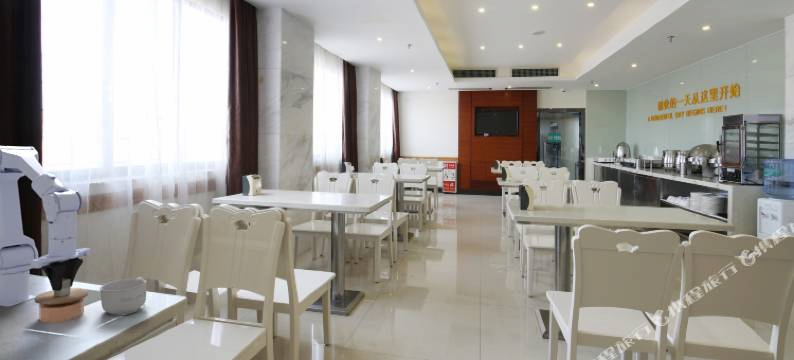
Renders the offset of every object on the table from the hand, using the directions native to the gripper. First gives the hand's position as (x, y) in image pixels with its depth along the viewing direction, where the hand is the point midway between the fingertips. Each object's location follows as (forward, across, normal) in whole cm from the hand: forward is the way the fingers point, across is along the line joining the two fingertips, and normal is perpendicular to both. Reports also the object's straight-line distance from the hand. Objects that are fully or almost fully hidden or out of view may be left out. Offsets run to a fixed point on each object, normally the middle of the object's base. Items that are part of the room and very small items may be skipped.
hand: (62, 288), depth 110 cm
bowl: (+8, 0, 0) cm, 8 cm away
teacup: (+8, +9, -12) cm, 17 cm away
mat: (+8, +12, +7) cm, 16 cm away
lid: (+2, 0, 0) cm, 2 cm away
